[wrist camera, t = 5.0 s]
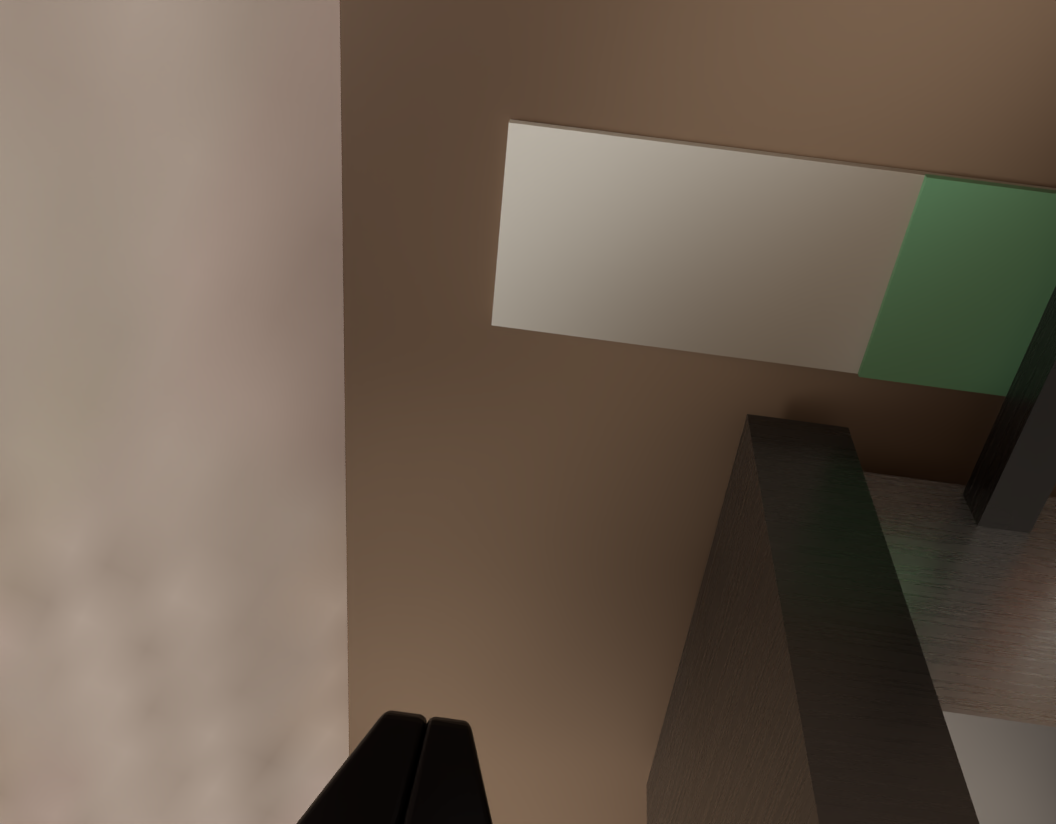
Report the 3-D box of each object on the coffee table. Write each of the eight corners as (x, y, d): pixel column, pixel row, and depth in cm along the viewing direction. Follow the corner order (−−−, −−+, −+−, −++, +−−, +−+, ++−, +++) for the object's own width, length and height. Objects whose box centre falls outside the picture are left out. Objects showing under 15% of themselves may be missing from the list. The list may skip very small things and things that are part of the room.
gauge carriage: (1413, 26, 7) (2308, 300, 3) (945, 828, 13) (1077, 1269, 9) (870, -40, 7) (1128, 151, 3) (646, 784, 13) (650, 1201, 9)
